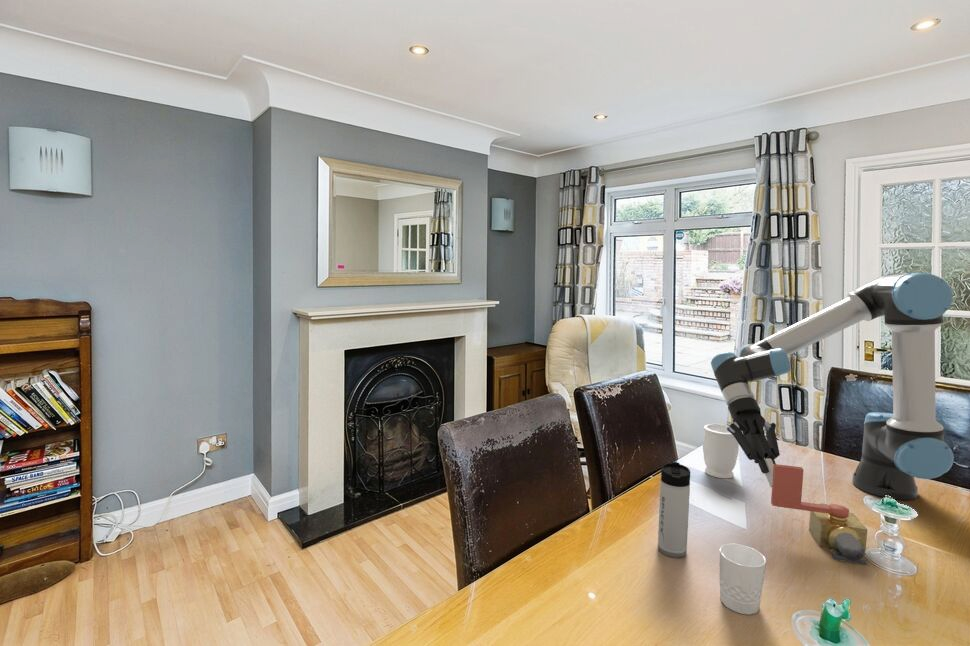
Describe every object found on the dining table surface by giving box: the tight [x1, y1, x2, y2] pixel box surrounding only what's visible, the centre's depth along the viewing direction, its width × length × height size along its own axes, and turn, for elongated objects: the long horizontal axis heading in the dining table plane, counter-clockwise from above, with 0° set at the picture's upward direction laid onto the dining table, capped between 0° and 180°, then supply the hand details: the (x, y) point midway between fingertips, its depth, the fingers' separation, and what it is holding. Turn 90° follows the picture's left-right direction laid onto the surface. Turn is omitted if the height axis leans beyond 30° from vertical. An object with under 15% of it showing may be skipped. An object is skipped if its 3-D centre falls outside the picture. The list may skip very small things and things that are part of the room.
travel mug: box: [657, 461, 691, 559], centre depth 112 cm, size 6×7×20 cm
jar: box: [702, 423, 740, 479], centre depth 156 cm, size 11×10×15 cm
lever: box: [770, 463, 850, 518], centre depth 117 cm, size 4×16×10 cm, turn 72°
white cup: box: [719, 543, 767, 616], centre depth 94 cm, size 8×8×10 cm
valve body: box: [808, 502, 868, 565], centre depth 116 cm, size 19×9×7 cm, turn 162°
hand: (776, 485), depth 122 cm, fingers closed
